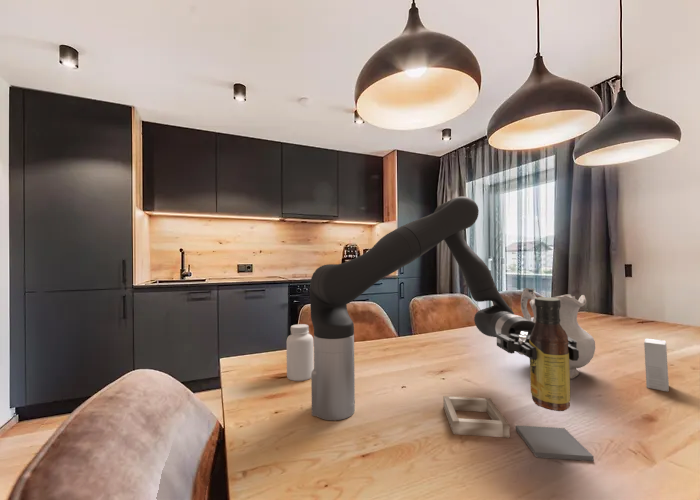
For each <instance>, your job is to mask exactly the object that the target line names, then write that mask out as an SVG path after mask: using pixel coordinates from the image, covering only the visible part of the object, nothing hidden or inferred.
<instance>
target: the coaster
mask: <svg viewBox="0 0 700 500" xmlns="http://www.w3.org/2000/svg"><path fill="white" fill-rule="evenodd" d="M515 430H516V432H517V434H518V435H520V437H521V438H522V440H523V441H524V443H525V444H526V445H527V446H528V448H529V449H530V451H531V453H533V455H534V456H535V457H536V458H541V459H542V458H544V459H545V458H546V459H556V460H558V459H559V460H561V459H562V460H571V461H586V462H594V461H595V460H594V459H595V458H594V455H593V454H592V453H591V452H590V451H589V450H588V449H586V448H585V446H583V444H581V442H580V441H578V439H577V438H576V437H574V436H573V435H572V434H571V433H570V432H569V431H568V430H567V429H566V428H565V427H555V426H554V427H553V426H551V427H550V426H537V425H536V426H534V425H519V424H518V425H515Z"/></svg>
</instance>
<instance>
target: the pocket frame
mask: <svg viewBox="0 0 700 500" xmlns="http://www.w3.org/2000/svg"><path fill="white" fill-rule="evenodd" d="M442 400H443V409H444V413H445V414H446V418H447V420H448V424H449V426H450V429H451V433H452V434H453V435H462V436H476V437H477V436H479V437H480V436H481V437H495V438H496V437H497V438H499V437H500V438H508V439H509V438H510V423H509V422H508V421H507V419H506V418H505V416H504V415H503V414H502V412H501V410H500V409H499V408H498V407H497V405H496V404H495V403H494V401H493V400H492V399H491V398H489V397H467V396H444V395H443V398H442ZM456 411H461V412H462V411H463V412H465V411H467V412H481V413H482V412H483V413H484V412H485V413H487V415H488V416H489V418H490V419H479V418H477V419H476V418H475V419H474V418H463V417H462V418H458V415H457V412H456Z"/></svg>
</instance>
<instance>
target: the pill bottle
mask: <svg viewBox="0 0 700 500" xmlns="http://www.w3.org/2000/svg"><path fill="white" fill-rule="evenodd" d="M309 327H310V326H309V325H308V324H305V323H299V324H293V325H291V326H290V335H288V336H287V339H286V378H287V379H288V380H290V381H293V382H294V381H295V382H302V381H303V382H304V381H307V380H310V379H311V373H312V371H313V369H314V336H313V335H312V334H311V333H310V331H309V330H310V328H309Z"/></svg>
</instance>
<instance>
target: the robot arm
mask: <svg viewBox="0 0 700 500" xmlns="http://www.w3.org/2000/svg"><path fill="white" fill-rule="evenodd" d="M479 213H480V212H479V205H478V204H477V202H476V201H475V200H474V199H472V198H470V197H468V196H456V197H453V198H451V199H449V200H447V201H445V202H444V203H441V204H439V205H437V207H436V208H435V209H434V212H433V213H431V214H429V215H426V216H424V217H421V218H418V219H416V220H412V221H410V222H409V223H406V224H403V225H401V226H400V227H398V228H395V229H394V230H392V231H389V232H388V233H387V234H385V235H384V236H382V237H381V238H380V239H379V240H378V241H377V242H376V243H375V244H374V245H373V246H372V247H371V248H370V249H369V250H368V251H366V252H365V253H363V254H361V255H359V256H356V257H355V258H353V259H350V260H348V261H344V262H342V263H338V264H337V263H336V264H334V263H333V264H324V265H321V266H319V267H317V268H316V269H315V271H314V272H313V273H312V275H311V278H310V283H309V301H310V302H309V303H310V304H309V305H310V306H309V307H310V319H311V324H312V328H313V346H314V369H313V371H312V373H311V378H310V379H311V387H310V388H311V416H315V417H318V418H319V419H322V420H326V421H340V420H344V419H347V418H350V417H352V415H353V414H354V413H355V409H356V408H355V406H356V405H355V404H356V399H355V395H356V393H355V387H356V386H355V385H356V384H355V325H354V324H355V323H354V321H353V319H352V318H351V316H350V315H349V311H348V308H347V305H348V304H349V303H351V302H353V301H355V300H356V299H357V298H359V297H360V296H361V295H362V294H364V293H365V292H366V291H367V290H368V289H370V288H371V287H372V286H374V285H375V284H377V283H378V282H379V281H381V280H382V279H385V278H386V277H388V276H390V275H391V274H393V273H394V272H397V271H398V270H400V269H401V268H404V267H405V266H407V265H409V264H410V263H412V262H414V261H415V260H417V259H418V258H420V257H421V256H423V255H425V254H426V253H427V252H429V251H431V250H432V249H433V248H435V247H436V246H437V245H439V244H440V243H442V242H443V241H444V242H445V244H446V246H447V247H448V249H449V251H450V252H451V255H452V256H453V258H454V260H455V261H456V263H457V264H458V267H459V269H460V271H461V273H462V275H463V277H464V280H465V282H466V285H467V287H468V289H469V290H468V291H469V293H470V296H471V298H472V299H473V301H475V302H481V303H482V302H489V301H490V302H493V304H494V305H491V306H488V307H485V308H482V309H480V310H478V311H476V313H475V314H474V319H473V321H474V325H475V327H476V328H477V330H478V331H479V332H480V333H481V334H483V335H485V336H488V337H492V338H496V346H497V347H498V348H500V349H501V350H504V351H505V352H507V353H508V354H515V352H516V353H518V354H519V355H522V356H525V357H527V358H528V359H529V360H530V359H531V360H536V359H537V351H536V348H535V347H534V346H532V345H530V344H529V338H530V335H531V333H532V330H533V327H534V325H535V323H534V322H532V321H533V320H532V321H530V320H528V319H526V318H524V316H521V315H517V314H515V313H514V311H513V310H512V308H511V307H510V306H509V305H508V303H507V302H506V300H505V299H504V298H503V297H502V294H501V293H500V292H499V290H498V288H497V285H496V284H495V281H494V277H493V275H492V273H491V271H490V269H489V267H488V266H487V264H486V263H485V261H484V260H482V258H481V257H480V256H479V255H478V254H477V253H476V252H475V251H474V250H473V249H472V248H471V247H470V246H469V244H468V243H467V242H466V240H465V238H464V236H463V235H464V234H463V232H462V231H463V230H467V229H469V228H470V227H472V226H473V225H474V224H475V223H476V221H477V220H478V217H479ZM568 350H569V359H570V360H572V361H577V360H578V358H579V350H578V349H577V341H575V340H573V339H571V338H570V337H568Z"/></svg>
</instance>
